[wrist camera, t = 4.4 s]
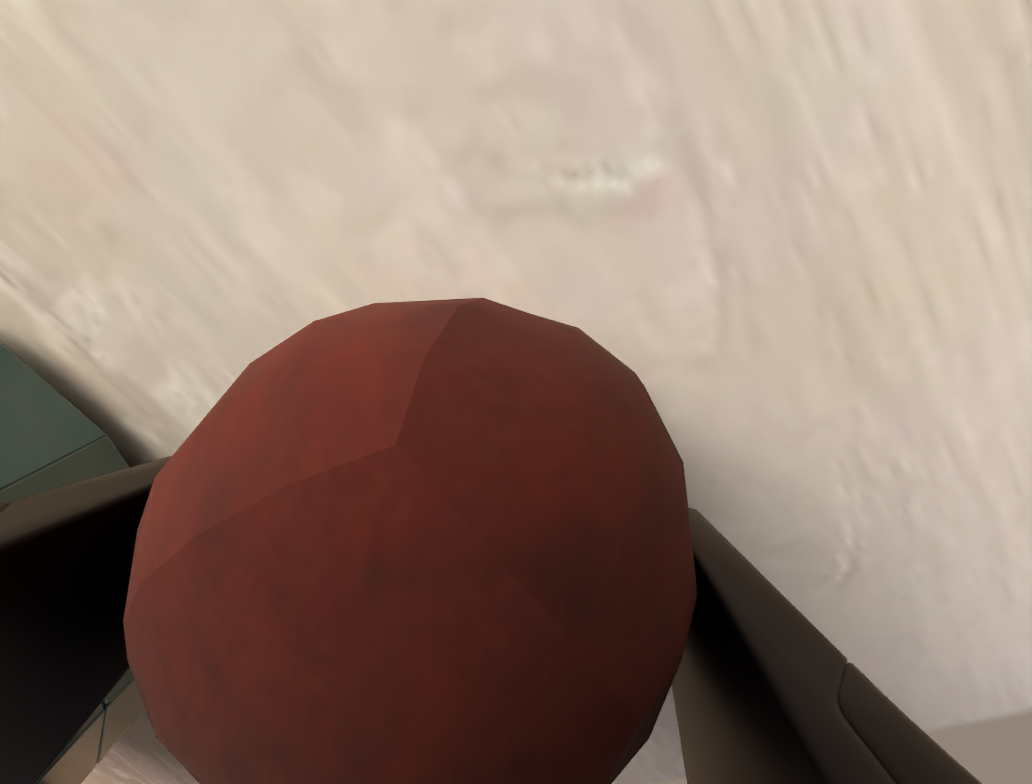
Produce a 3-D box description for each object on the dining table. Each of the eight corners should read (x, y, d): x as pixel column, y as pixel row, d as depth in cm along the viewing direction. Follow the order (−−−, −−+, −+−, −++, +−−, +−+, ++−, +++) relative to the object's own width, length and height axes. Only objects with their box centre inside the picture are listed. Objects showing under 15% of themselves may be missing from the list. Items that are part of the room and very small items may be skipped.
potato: (241, 430, 11) (-218, 746, 5) (505, 168, 8) (165, 125, 2) (452, 628, 13) (306, 1064, 6) (746, 474, 10) (1021, 1036, 3)
